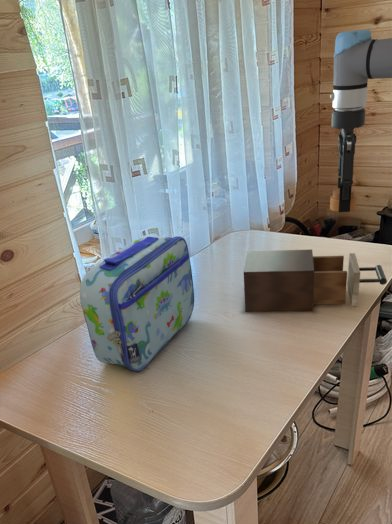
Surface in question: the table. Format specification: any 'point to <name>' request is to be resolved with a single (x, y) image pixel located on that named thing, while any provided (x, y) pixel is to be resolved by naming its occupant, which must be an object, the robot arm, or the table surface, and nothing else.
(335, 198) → the orange-brown stepped cylinder
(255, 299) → the cabinet
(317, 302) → the drawer
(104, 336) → the lunch box
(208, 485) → the table surface
